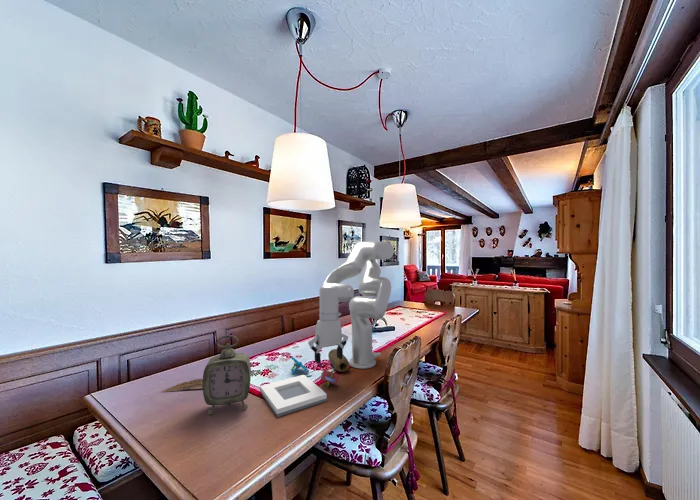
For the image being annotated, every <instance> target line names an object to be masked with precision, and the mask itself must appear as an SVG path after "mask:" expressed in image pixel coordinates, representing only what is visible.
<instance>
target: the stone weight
mask: <svg viewBox="0 0 700 500" xmlns="http://www.w3.org/2000/svg"><path fill="white" fill-rule="evenodd" d="M328 360H329V362H330V363H331V365H332V367H334V370H335V371H337V372H340V373H342V372H346V371H348V370H349V369H350V365H349V360H348V359H347V357H346V356H345V355H344V354H343V356H342V359H339V358H338V357H337V348H333V349H330V351H329V352H328Z"/></svg>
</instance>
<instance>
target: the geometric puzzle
mask: <svg viewBox="0 0 700 500" xmlns="http://www.w3.org/2000/svg"><path fill="white" fill-rule="evenodd" d="M340 377H341V374H339V373H336V370H335V368H334V366H332V369H331V370H330V369H328V370H327V369H326V368H325V369H323V370H322V371H321V375H320V380H321V381H323V382H325V386H326V388H327V389H328V388H331V387H333V385H334V386H337V385H338V383H339V380H340ZM330 384H331V385H332V386H331V385H330ZM329 385H330V386H329Z"/></svg>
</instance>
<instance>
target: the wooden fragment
mask: <svg viewBox="0 0 700 500" xmlns="http://www.w3.org/2000/svg"><path fill="white" fill-rule="evenodd" d="M202 385H203V378H197V379H193V380H189V381H183V382H182V383H177V384H176V385H173V386H172V387H167V388H166V389H164V390H162V391H161V393H167V392H174V391H175V392H177V391H178V392H179V391H185V390H187V391H188V390H200V389H202V390H203V386H202Z"/></svg>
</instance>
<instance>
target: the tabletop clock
mask: <svg viewBox="0 0 700 500" xmlns="http://www.w3.org/2000/svg"><path fill="white" fill-rule="evenodd" d="M227 338H234V339H235V340H236V343H234V344H230V343H226V344H225V345H220V344H219V342H220V340H223V339H227ZM238 344H239V338H238V337H237V336H235V335H231V334H228V335H227V334H226V335H223V336H221V337H219V338H218V339H217V341H216V345H217V346H218V348H220V349H221V348H222V350H221V352H220V354H217V355H215V356H212V357H210V359H209V360H208V362H207V363H206V365H205V366H204V367H205V368H204V370H203V375H202V379H203V385H202V386H203V389H202V394H203V395H202V396H203V399H204V403H206V405H209V406H211V407H210V409H209V410H208V411H207V414H208V415H209V416H211V415H213V413H214V408H215V406H226V405H227V406H231V405H232V404H236V403H239V402H241V405H242V406H241V408H242V410H247V408H248V404H245V401H244V400H246V399H248V396H249V394H250V393H249V392H250V388H251V386H250V384H251V380H252V379H251V378H252V367H251V366H252V365H251V359H250V357H249V355H248V354H247V353H245V352H244V353H243V352H236V351H235V349H234V347H236V346H237V345H238Z"/></svg>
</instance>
